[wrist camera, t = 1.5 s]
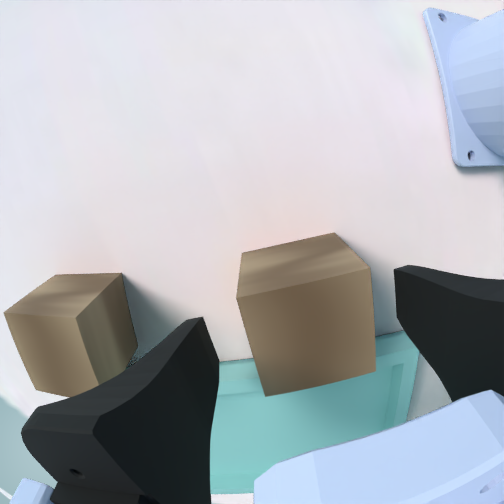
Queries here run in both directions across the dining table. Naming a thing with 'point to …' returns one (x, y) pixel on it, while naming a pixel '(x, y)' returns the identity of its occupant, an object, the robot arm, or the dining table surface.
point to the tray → (303, 414)
